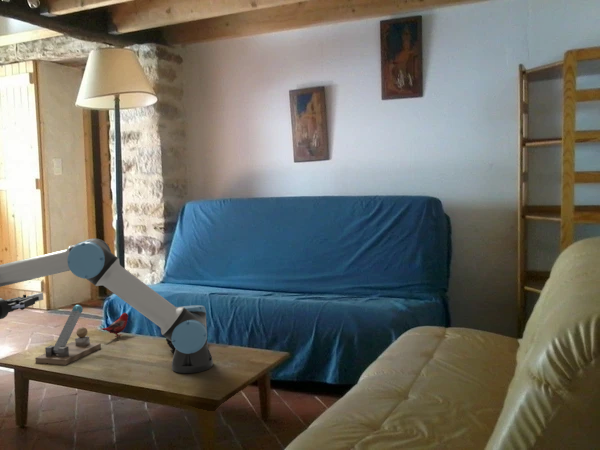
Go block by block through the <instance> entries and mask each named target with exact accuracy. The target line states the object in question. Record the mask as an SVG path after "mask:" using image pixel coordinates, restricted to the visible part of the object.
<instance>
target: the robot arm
mask: <svg viewBox="0 0 600 450" xmlns="http://www.w3.org/2000/svg"><path fill="white" fill-rule="evenodd" d="M65 272H71V273H72V274H73V275H74V276H76V277H78V278H80V279H84V280H85V279H86V280H87V281H88V282H89V283H91V284H92V285H94V286H95V287H99V286H100V287H101V286H103V287H104V288H106V289H107V290H109V291H110V292H112V293H113V294H114V295H116V296H117V297H119V298H120V299H121V300H123V301H124V302H125V303H127V304H128V305H129V306H130V307H131V308H133V309H134V310H136V311H137V312H139V314H141V315H142V316H144V317H145V318H147V319H148V320H149V321H151V322H152V323H153V324H154V325H156V327H159V328H160V332H161V333H160V334H161V335H162V336H163V337H165V339H166V338H167V339H169V340H170V341H171V342H172V344H173V345H174V347H175V348H176V349H175V352H173V357H172V361H171V370H172V371H173V372H175V373H178V374H195V373H200V372H204V371H207V370H209V369H211V368H212V367H213V365H214V363H213V362H214V361H213V360H214V359H213V355H212V354H211V351H210V349H209V346H208V330H207V329H208V327H207V311H206V307H205V305H197V304H196V305H184V306H183V305H182V306H175V305H174V304H173V303H171V302H169V300H167V299H166V298H164V297H163V296H162V295H161V294H159V293H158V292H157V291H155V290H154V289H152V288H151V287H150V286H148V285H147V284H146V283H144V282H143V281H142V280H140V279H139V278H138V277H136V276H135V275H134V274H133V273H131V272H130V271H129V270H127V269H126V268H124V267H123V266H122V265H121V263H120V258H119V257H118V256H117V255H115V254H113V253H112V250H111V248H110V246H109V245H108V243H107V242H106V241H104V240H102V239H99V238H87V239H86V240H83V241H80V242H78V243H75V244H72V245H69V246H68V248H67V249H63V250H58V251H54V252H51V253H46V254H41V255H37V256H32V257H28V258H25V259H24V258H23V259H20V260H15V261H12V262H11V261H10V262H7V263H2V264H0V288H1V287H5V286H9V285H13V284H14V285H15V284H18V283H21V282H22V283H23V282H26V281H31V280H36V279H39V278H40V279H41V278H44V277H47V276H48V277H49V276H52V275H57V274H62V273H65ZM41 301H44V293H43V292H37V293H33V294H30V295H27V294H23V295H22V296H17V297H12V298H8V299H4V298H2V297H0V320H3V319H5V318H6V317H7V316H8V314H9V313H12V312H14V311H16V310H21V311H23V310H24V309H26V308H28V307H31V306H34V305H36V303H37V302H41Z"/></svg>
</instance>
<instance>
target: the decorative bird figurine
mask: <svg viewBox="0 0 600 450" xmlns="http://www.w3.org/2000/svg"><path fill="white" fill-rule="evenodd" d="M129 316H130V315H128V313H127V312H123V313H122V314H121V315H120V316H119V318H118V319H116V320H114V321H113V322H112V323H111V324H110V325H109V326H108V327H102V328H99V330H100V331H101V330H102V331H106V332H108V333H110V334H114V335H115V336H114V338H116V337H117V338H118V337H121V336H122V335H123V333H122V332H123V331H124V330H125V328H126V326H127V323H128V318H129ZM120 333H121V334H120Z"/></svg>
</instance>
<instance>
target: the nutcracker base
mask: <svg viewBox="0 0 600 450" xmlns="http://www.w3.org/2000/svg"><path fill="white" fill-rule="evenodd" d="M75 332H76V336H77V337H75V338H74V341H71V342H69V343H67V344H66V346H62V347H60V348H58V355H56V354H53V353H52V352H53V348H54V346H55V345H48V346H46V347H44V351H45V353H43V354H41V355H39V356H36V357H35V364H46V363H48V365H59V366H60V365H65V366H66V365H69V364H70V363H73V362H75V361H77V360H79V359H82V358H84V357H86V356H87V355H90V354H91V353H94V352H95V351H97V350H100V349H101V348H102V347H101V344H102V343H100V342H98V343H97V342H91V341H90V335H88V328H86V327H85V326H80V327H78V328H77V329H76V331H75ZM87 335H88V336H87Z"/></svg>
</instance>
